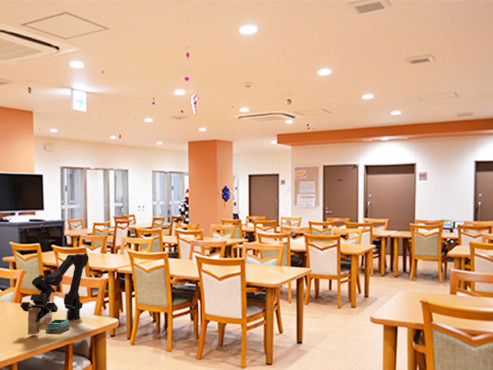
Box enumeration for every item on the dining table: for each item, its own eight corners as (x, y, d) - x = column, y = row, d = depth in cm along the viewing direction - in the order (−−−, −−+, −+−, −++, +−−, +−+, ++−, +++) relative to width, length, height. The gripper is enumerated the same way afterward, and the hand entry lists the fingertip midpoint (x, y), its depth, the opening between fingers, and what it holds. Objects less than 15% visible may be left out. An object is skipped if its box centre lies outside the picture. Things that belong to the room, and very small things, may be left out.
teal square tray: (53, 326, 240) (53, 318, 240) (73, 326, 239) (73, 318, 239) (41, 332, 228) (41, 324, 228) (62, 333, 227) (62, 324, 227)
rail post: (32, 331, 225) (32, 307, 225) (39, 332, 224) (40, 307, 225) (27, 334, 221) (28, 309, 221) (35, 334, 220) (35, 309, 221)
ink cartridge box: (52, 320, 251) (52, 295, 252) (50, 322, 247) (51, 297, 247) (36, 321, 249) (36, 296, 250) (34, 323, 244) (35, 298, 245)
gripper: (22, 287, 228) (9, 313, 217) (55, 287, 226) (43, 313, 215) (30, 298, 235) (18, 323, 224) (62, 299, 234) (51, 324, 223)
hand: (32, 321), depth 221 cm, fingers closed on rail post, 4 cm apart
